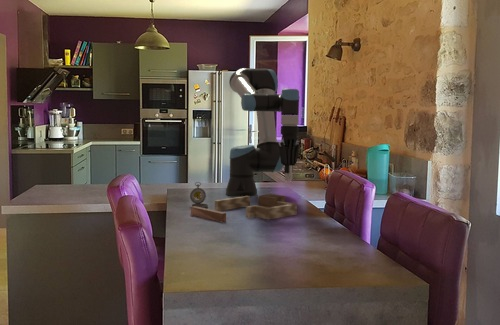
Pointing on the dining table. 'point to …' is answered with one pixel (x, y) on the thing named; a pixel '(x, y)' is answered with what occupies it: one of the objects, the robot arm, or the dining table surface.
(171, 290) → the dining table surface
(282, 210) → the brown wooden pieces
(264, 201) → the block
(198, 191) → the pocket watch
